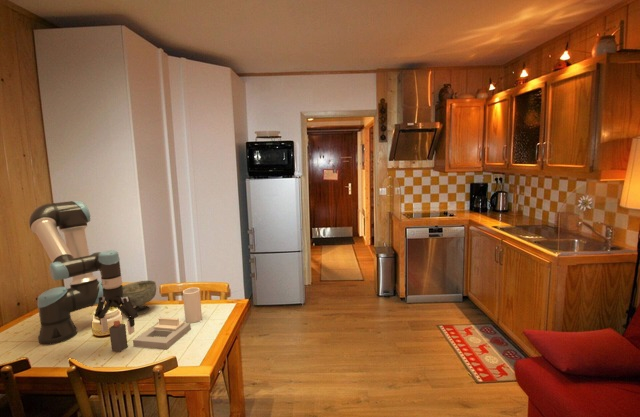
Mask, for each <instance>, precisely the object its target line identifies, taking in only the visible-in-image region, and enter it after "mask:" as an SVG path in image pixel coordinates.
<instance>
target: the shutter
mask: <svg viewBox="0 0 640 417" xmlns="http://www.w3.org/2000/svg"><path fill="white" fill-rule="evenodd" d="M158 322H159V324H157V323H156V324H157V325H156V326H154V325H153V326H154V329H164V330H176V329H178V328H179V327H180V326H181V325H183V324H184V323H185V321H180V319H179V318H177V317H164V316H163V317H162V316H160V317H159V318H158Z"/></svg>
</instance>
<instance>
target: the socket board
mask: <svg viewBox="0 0 640 417" xmlns="http://www.w3.org/2000/svg"><path fill="white" fill-rule="evenodd" d="M157 324H159V321H158V322H157V323H155V324H154V325H152V326H151V327H150V328H148V329H146V330H145V331H144V332H143V333H141V334H140V335H138V336H136V337H135V338H134V339H132V345H133V347H135V348H136V347H137V348H148V349H156V350H157V349H159V350H168V349H169V348H171V347H172V346H173V345H174V344H175V343H176V342H177V341H178V340H180V339H181V338H183V337H184V335H186V334H187V333H189V331H191V329H192V328H191V326H192V325H191V323H187V322H184V324H183V325H181V326H180V327H179V328H178V329H176V330H164V329H154V326H156V325H157Z"/></svg>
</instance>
